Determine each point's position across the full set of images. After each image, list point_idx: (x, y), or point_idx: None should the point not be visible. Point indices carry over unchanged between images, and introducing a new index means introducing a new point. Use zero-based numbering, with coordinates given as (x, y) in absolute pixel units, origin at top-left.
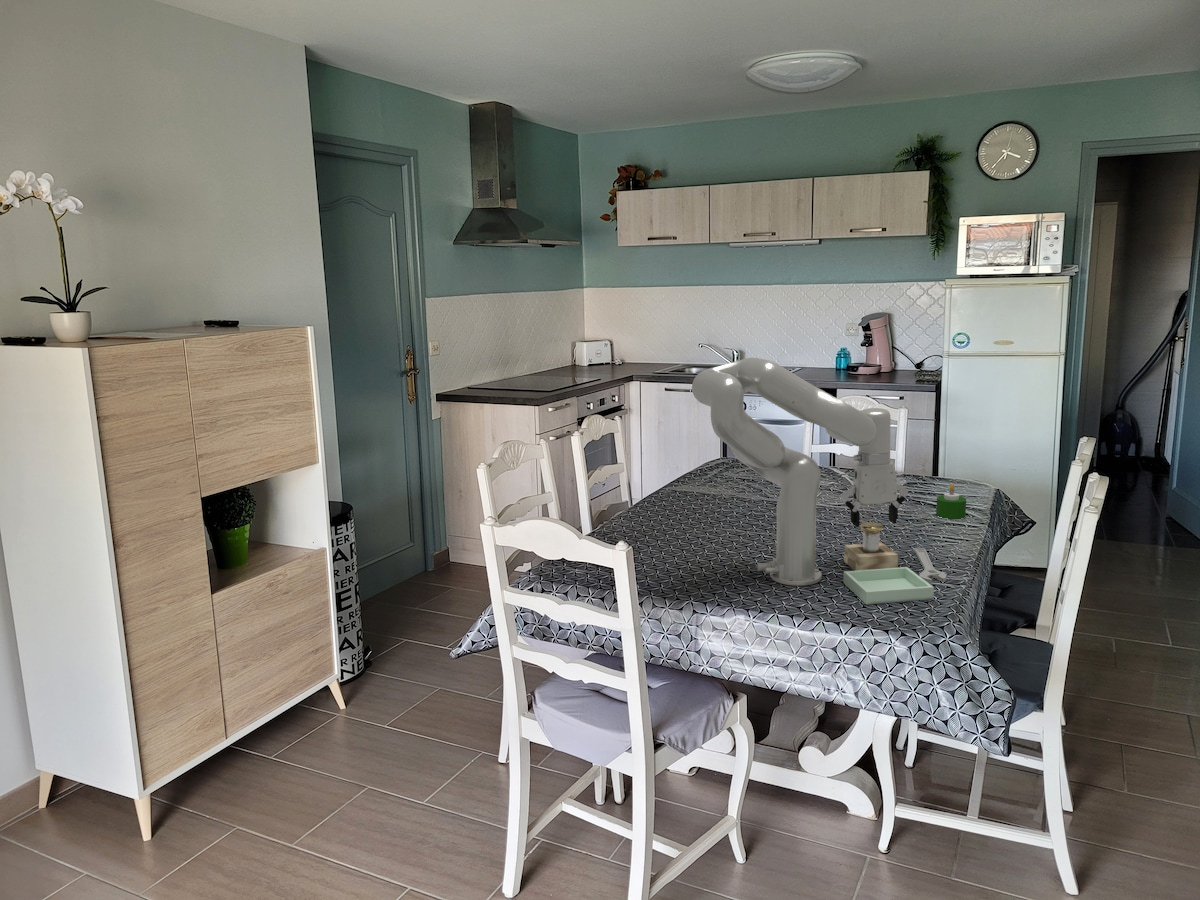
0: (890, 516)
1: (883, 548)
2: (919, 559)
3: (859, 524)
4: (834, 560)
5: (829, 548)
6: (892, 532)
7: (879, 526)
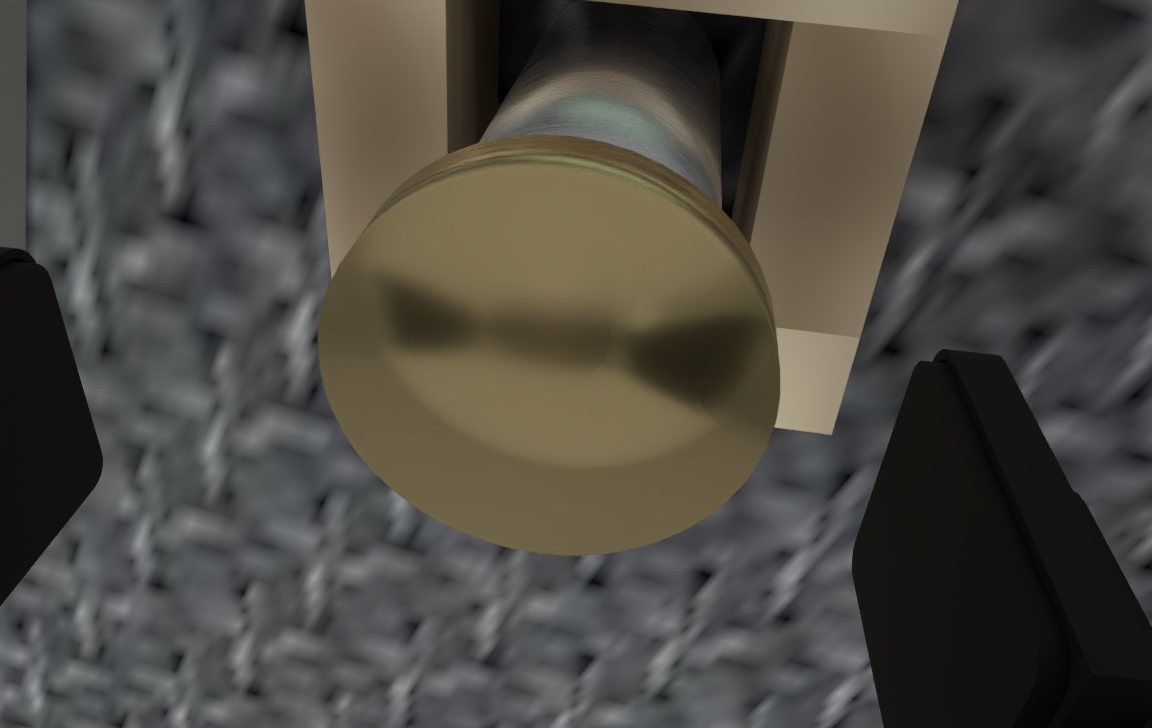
0: (19, 469)
1: (405, 162)
2: (11, 84)
3: (935, 380)
4: (886, 374)
5: (731, 621)
6: (110, 708)
7: (409, 270)
